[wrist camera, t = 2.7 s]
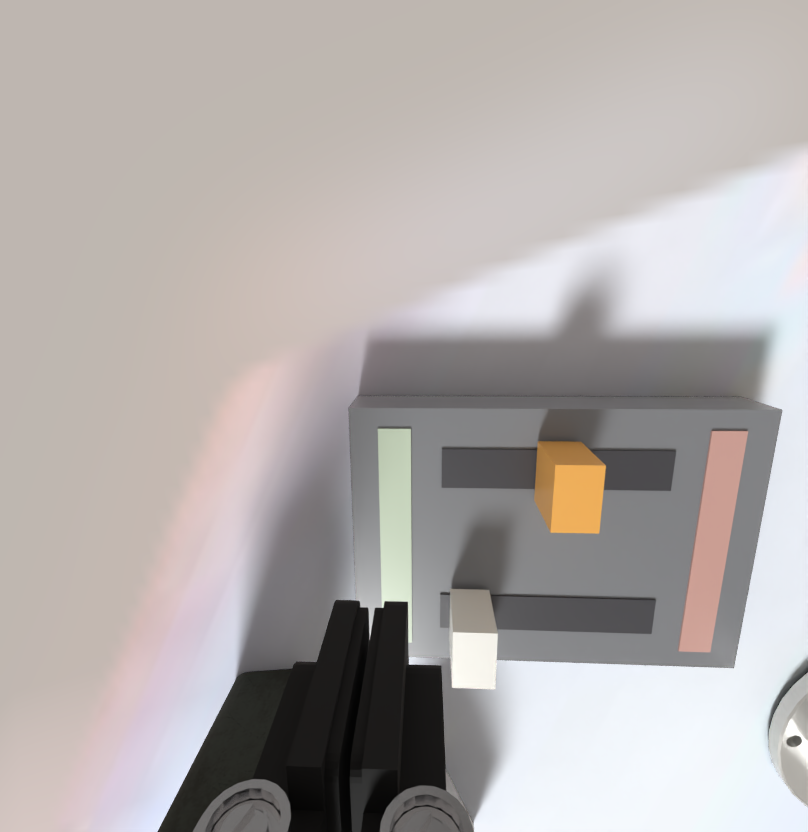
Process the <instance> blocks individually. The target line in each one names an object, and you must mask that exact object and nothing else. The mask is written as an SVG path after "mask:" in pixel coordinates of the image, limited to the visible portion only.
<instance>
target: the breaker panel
mask: <svg viewBox="0 0 808 832" xmlns="http://www.w3.org/2000/svg"><path fill="white" fill-rule="evenodd" d="M781 414H782V410H781V409H778V408H775V407H772V406H768V405H765V404H762V403H759V402H756V401H753V400H750V399H747V398H743V397H661V396H357V398H356V399H355V400H354V402H353V403H352V404H351V405H350V407H349V432H350V459H351V486H352V512H353V539H354V565H355V592H356V601H360V607H368V609H369V635H371V629H372V623H373V617H374V610H375V608H383V607H384V602H385V601H403V602H408V651H409V657H426V658H450V661H451V680H452V688H470V689H495V685H496V663H497V660H514V661H543V662H572V663H601V664H630V665H659V666H689V667H718V668H734V665H735V659H736V654H737V649H738V643H739V638H740V633H741V627H742V622H743V617H744V611H745V606H746V601H747V595H748V590H749V585H750V579H751V574H752V569H753V563H754V558H755V553H756V548H757V542H758V537H759V532H760V526H761V521H762V516H763V510H764V505H765V500H766V494H767V489H768V484H769V478H770V473H771V468H772V462H773V457H774V452H775V446H776V441H777V436H778V430H779V425H780V420H781ZM538 441H568V442H582V443H583V444H584V445H585V446H586V447H587V448H588V449H589V450H590V451H591V452H592V453H593V454H594V455H595V456H596V457H598V458H599V459H600V460H601V461H602V462H603V463H604V464H605V465H606V470H605V480H604V491H603V501H602V511H601V521H600V531H599V534H595V533H550V531H549V529H548V527H547V525H546V523H545V521H544V519H543V517H542V515H541V513H540V511H539V509H538V507H537V505H536V503H535V501H534V494H535V478H536V462H537V446H538Z"/></svg>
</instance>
